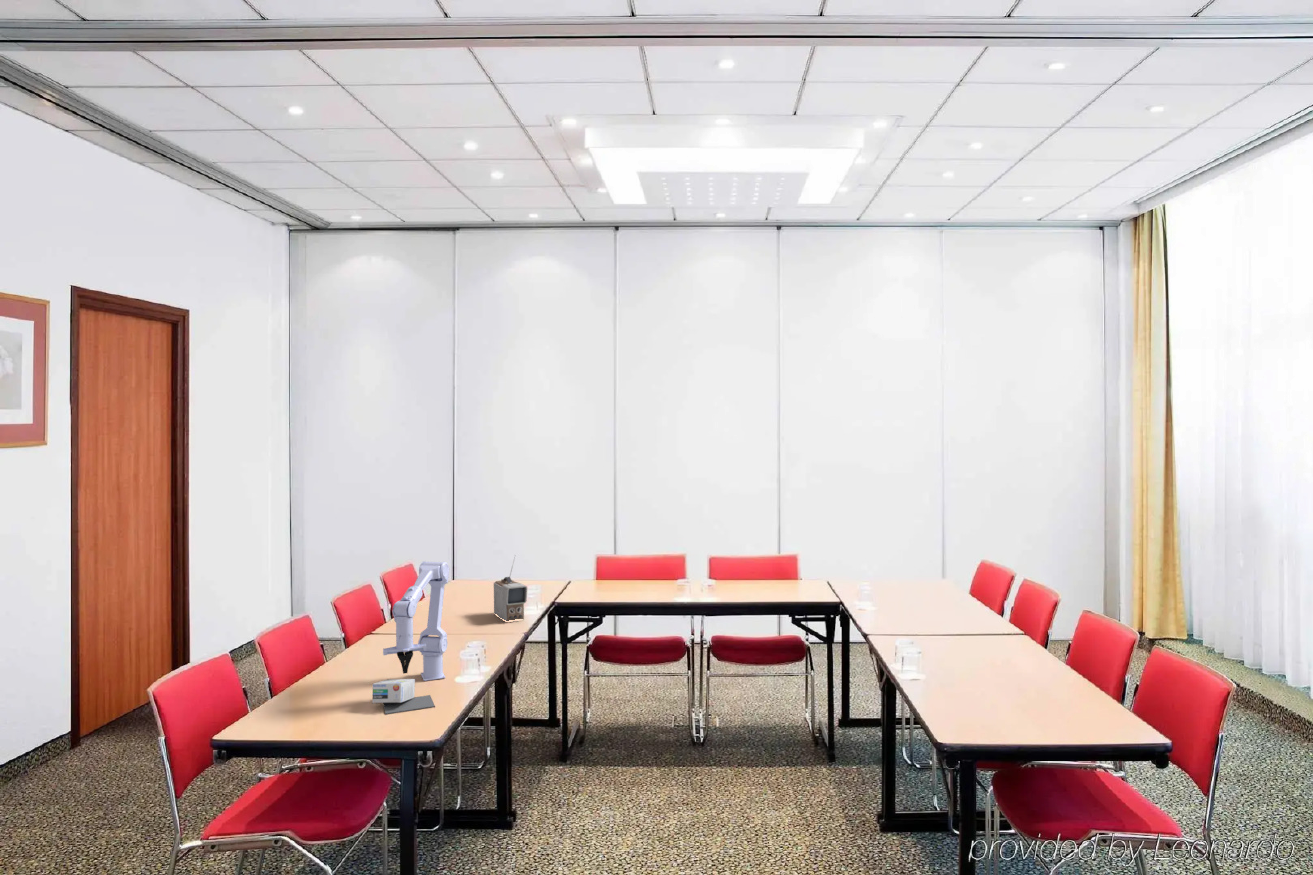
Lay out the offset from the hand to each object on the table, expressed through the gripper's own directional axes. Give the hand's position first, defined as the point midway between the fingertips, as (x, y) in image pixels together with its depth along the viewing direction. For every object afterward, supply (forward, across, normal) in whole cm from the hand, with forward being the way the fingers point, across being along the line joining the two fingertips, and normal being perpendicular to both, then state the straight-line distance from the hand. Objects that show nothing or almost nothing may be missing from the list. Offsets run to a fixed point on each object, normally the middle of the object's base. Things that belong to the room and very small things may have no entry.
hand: (405, 672), depth 275 cm
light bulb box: (+5, -2, -1) cm, 5 cm away
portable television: (+8, +61, +96) cm, 114 cm away
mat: (+8, 0, -10) cm, 13 cm away
